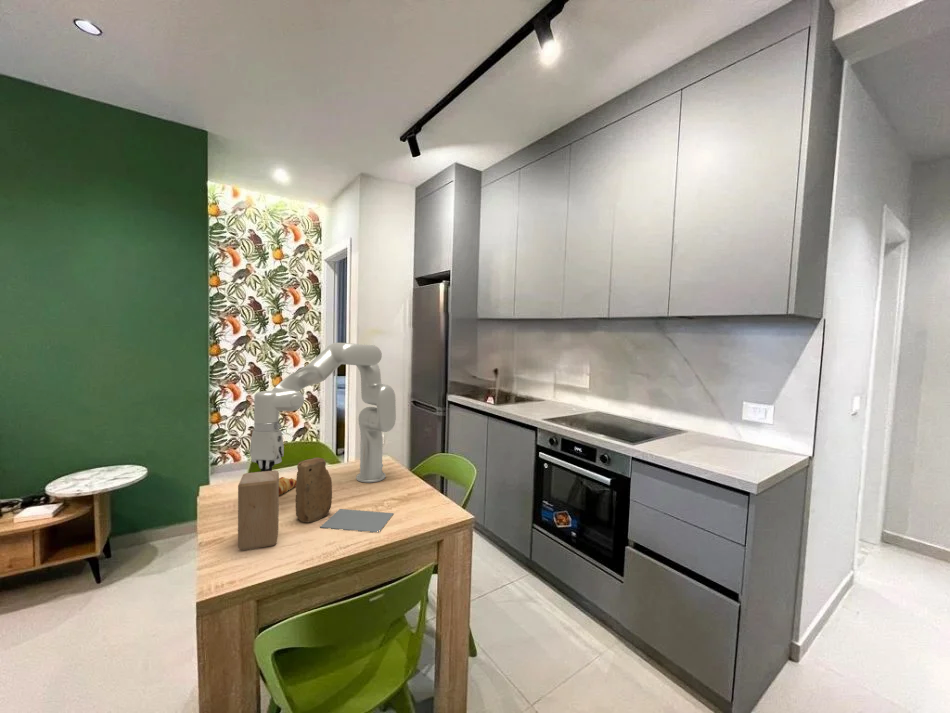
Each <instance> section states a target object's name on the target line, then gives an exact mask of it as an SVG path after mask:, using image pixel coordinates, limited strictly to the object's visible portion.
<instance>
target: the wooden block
mask: <svg viewBox="0 0 950 713" xmlns="http://www.w3.org/2000/svg"><path fill="white" fill-rule="evenodd" d="M279 478H280V474H279V470H274V469H272V471H263V472H261V471H255V472H245V473H243V474H242V476H241V479H240V481H239V483H238V485H237V491H238V492H237V548H238V551H241V552H242V551H247V550H253V549H259V548H260V549H261V548H264V547H265V548H266V547H271V546H274V545H276V544H277V542H278V535H279V509H280V508H279V504H280V503H279V502H280V500H279V496H280V495H279Z"/></svg>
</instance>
